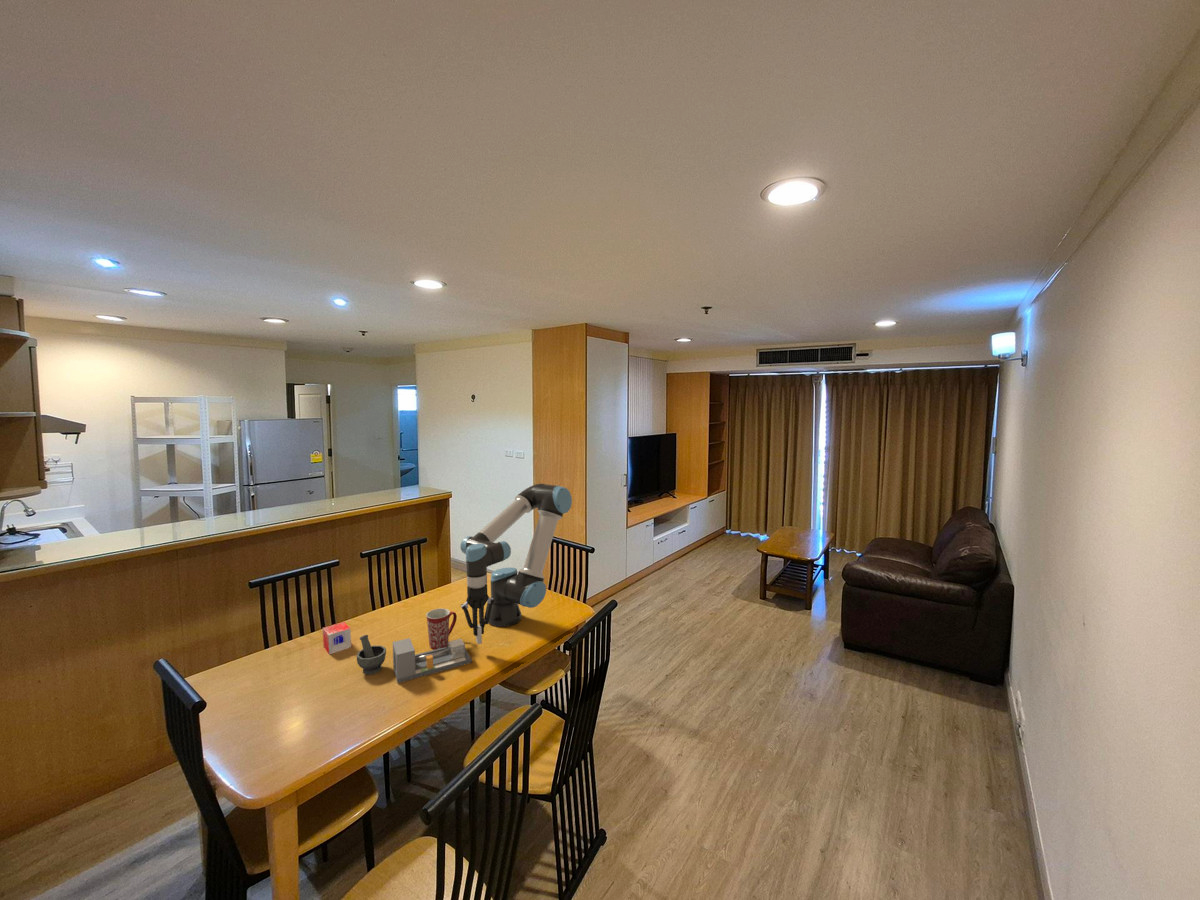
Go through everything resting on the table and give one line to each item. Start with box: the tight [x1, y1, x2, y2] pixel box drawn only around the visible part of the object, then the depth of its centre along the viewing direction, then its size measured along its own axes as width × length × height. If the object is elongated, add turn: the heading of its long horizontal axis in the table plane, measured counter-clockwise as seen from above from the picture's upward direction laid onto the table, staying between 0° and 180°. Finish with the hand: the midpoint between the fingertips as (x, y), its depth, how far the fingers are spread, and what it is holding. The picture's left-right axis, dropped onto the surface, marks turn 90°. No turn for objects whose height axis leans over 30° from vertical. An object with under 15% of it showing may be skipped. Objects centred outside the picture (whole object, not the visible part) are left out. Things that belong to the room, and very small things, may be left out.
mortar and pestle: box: [356, 634, 387, 676], centre depth 172 cm, size 11×9×12 cm
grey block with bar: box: [415, 638, 466, 662], centre depth 175 cm, size 20×7×5 cm, turn 121°
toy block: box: [322, 621, 352, 655], centre depth 188 cm, size 8×8×8 cm
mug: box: [425, 608, 457, 650], centre depth 191 cm, size 13×9×14 cm
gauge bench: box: [392, 637, 472, 684], centre depth 175 cm, size 26×10×10 cm, turn 121°
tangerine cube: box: [426, 655, 433, 669], centre depth 171 cm, size 2×2×4 cm
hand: (479, 642), depth 184 cm, fingers closed
